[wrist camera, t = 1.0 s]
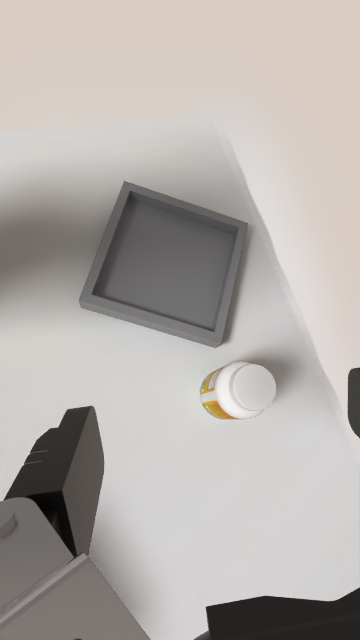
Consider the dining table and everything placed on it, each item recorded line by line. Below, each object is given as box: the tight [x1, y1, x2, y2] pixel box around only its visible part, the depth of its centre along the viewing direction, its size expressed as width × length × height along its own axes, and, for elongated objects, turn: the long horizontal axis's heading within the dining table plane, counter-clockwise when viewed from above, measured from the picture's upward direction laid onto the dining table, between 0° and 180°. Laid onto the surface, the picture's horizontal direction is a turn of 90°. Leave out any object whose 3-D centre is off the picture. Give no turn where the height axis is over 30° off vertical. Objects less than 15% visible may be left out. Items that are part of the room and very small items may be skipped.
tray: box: [79, 181, 248, 348], centre depth 40 cm, size 16×16×2 cm
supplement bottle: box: [200, 361, 276, 419], centre depth 34 cm, size 5×5×10 cm
